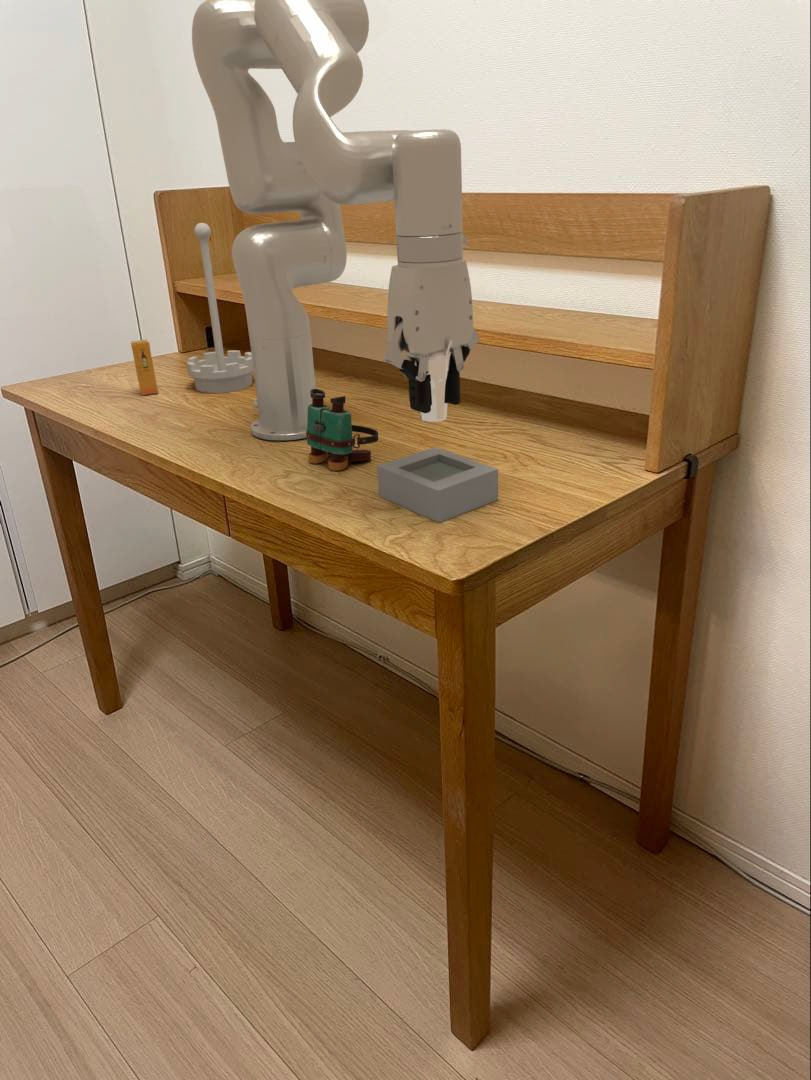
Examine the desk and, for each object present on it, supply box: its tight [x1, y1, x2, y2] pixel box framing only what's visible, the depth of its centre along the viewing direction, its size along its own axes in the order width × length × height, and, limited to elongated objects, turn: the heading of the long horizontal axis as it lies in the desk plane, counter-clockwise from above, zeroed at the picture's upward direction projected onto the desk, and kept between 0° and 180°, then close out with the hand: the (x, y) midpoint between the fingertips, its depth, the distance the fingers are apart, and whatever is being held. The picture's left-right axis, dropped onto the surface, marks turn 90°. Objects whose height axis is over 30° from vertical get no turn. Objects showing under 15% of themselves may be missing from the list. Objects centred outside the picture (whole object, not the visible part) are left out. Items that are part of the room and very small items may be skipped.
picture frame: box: [376, 446, 499, 524], centre depth 108 cm, size 12×10×4 cm
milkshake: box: [415, 340, 453, 423], centre depth 102 cm, size 4×5×10 cm
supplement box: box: [130, 339, 159, 397], centre depth 160 cm, size 3×3×10 cm
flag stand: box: [186, 222, 254, 394], centre depth 159 cm, size 13×13×30 cm
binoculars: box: [306, 388, 379, 472], centre depth 122 cm, size 9×11×10 cm
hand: (435, 405), depth 104 cm, fingers closed on milkshake, 4 cm apart
